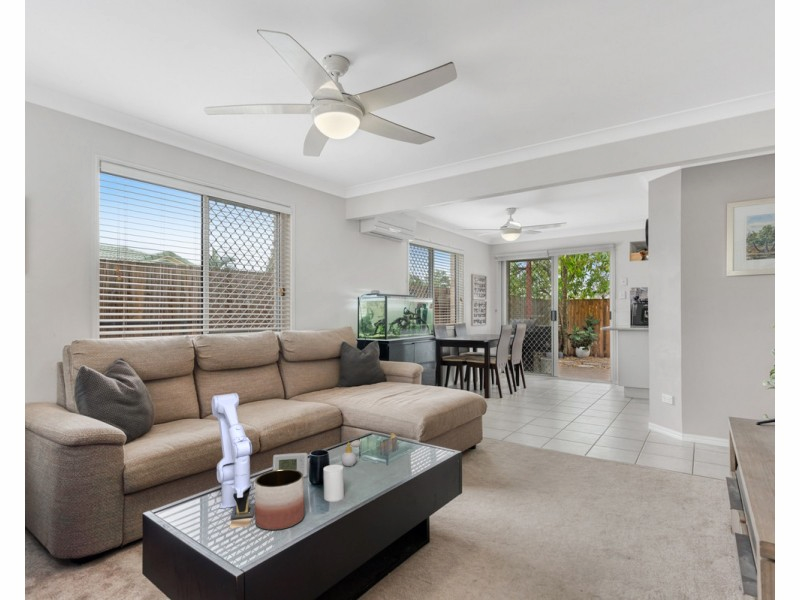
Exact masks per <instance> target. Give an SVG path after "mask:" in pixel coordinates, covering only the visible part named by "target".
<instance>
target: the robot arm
mask: <svg viewBox="0 0 800 600" xmlns="http://www.w3.org/2000/svg"><path fill="white" fill-rule="evenodd" d="M210 403H211V410H212V415H213V417H214V418H217V421H218V429H219V433H220V434H219V435H220V443H221V451H222V458H221V460H219V462H217V464H216V478H217V481H218V483H220V484H221V502H220V504H219V509H225V508H226V509H227V508H234V506H236V503H237V506H238V510H239V512H245V509H246V502H247V498H248V496H249V495H250V490H251V489H252V482H251V459H250V457H251V455H252V454H253V445H252V441H251V440H250V439H249V437H247V435H246V432H245V428H244V426H243V425H242V424H240V422H239V417H238V411H237V410H238V408H239V404H240V397H239V394H238V393H236V392H232V393H226V394H217V395H213V396H212V398H211V402H210ZM249 497H250V496H249Z"/></svg>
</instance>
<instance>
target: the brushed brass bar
mask: <svg viewBox="0 0 800 600" xmlns="http://www.w3.org/2000/svg"><path fill="white" fill-rule="evenodd" d="M249 504H250V496H248V498H247V502H246V509H245V512H239V510H238V506H237V503H236V508H237V514H236V515H241V514H249V513H250V512H249Z"/></svg>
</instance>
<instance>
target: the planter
mask: <svg viewBox="0 0 800 600" xmlns="http://www.w3.org/2000/svg"><path fill="white" fill-rule="evenodd" d="M304 484H305V483H304V478H303V473H302V472H300V471H297V470H292V469H282V470H274V471H273V470H271V471H268V472H264V473H262V474H260V475H258V476H257V477H256V478H255V479H254V503H255V512H254V520H255V521H254V522H255V525H257V527H259V528H261V529H263V530H266V531H267V530H268V531H269V530H270V531H278V530H284V529H288V528H291V527H293V526H296V525H298V523H300V522H301V521H302V520H303V519H304V518H305V509H306V508H305V488H304V487H305V486H304Z"/></svg>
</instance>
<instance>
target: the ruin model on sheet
mask: <svg viewBox="0 0 800 600" xmlns="http://www.w3.org/2000/svg"><path fill="white" fill-rule="evenodd" d="M389 434H390V437H388V438H385V439H382V441H379V454H380V456H383V457H385V456H387V455H389V454H391V453H394V452H396V451H398V446H399V445H398V436H397V435H396V434H395V433H394V432H392V433H389Z"/></svg>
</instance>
